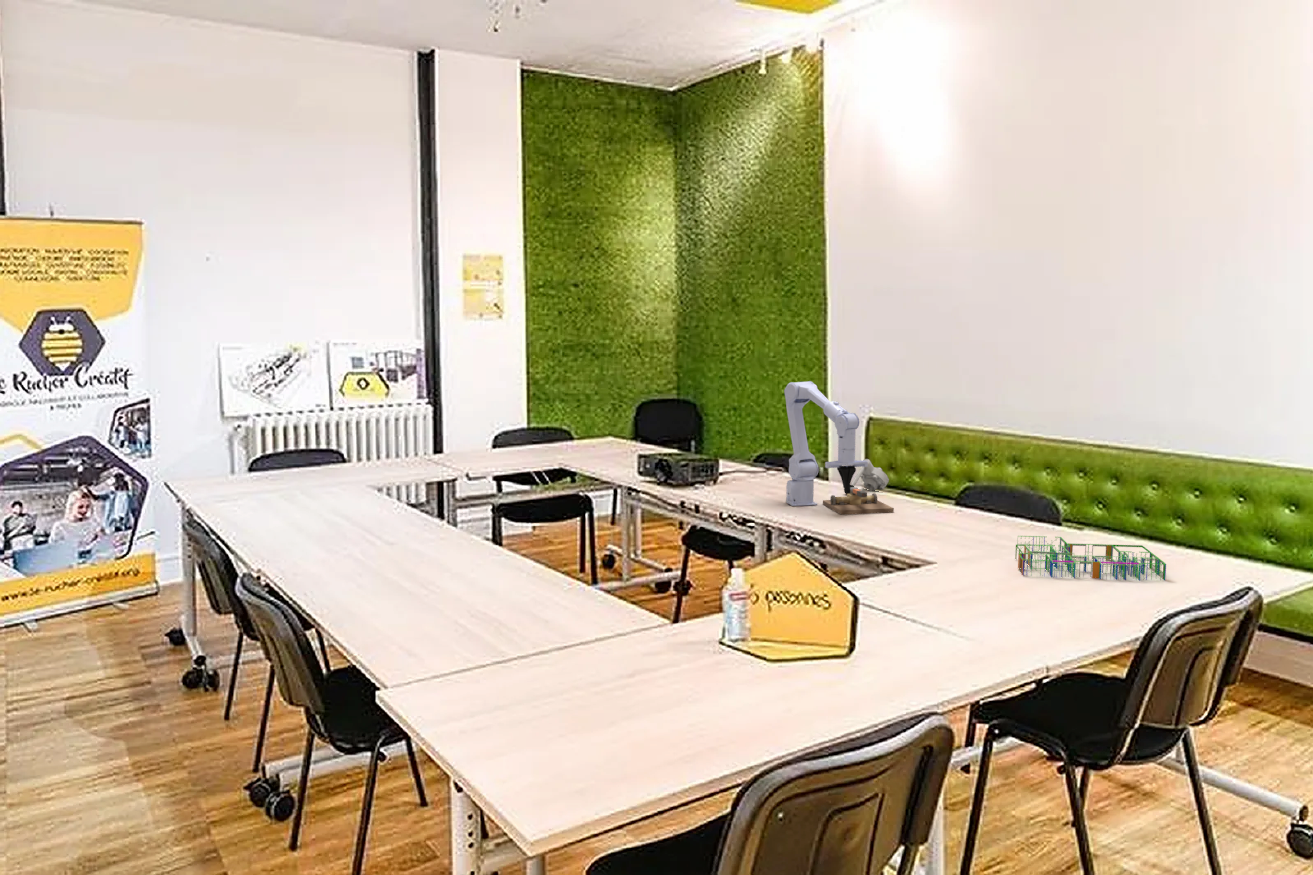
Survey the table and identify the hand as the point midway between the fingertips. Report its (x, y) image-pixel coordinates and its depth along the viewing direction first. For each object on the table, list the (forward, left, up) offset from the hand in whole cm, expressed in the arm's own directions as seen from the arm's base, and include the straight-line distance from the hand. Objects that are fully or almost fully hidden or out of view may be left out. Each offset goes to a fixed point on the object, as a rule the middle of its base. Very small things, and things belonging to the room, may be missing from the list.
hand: (846, 488), depth 348 cm
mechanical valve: (+21, +37, -9) cm, 44 cm away
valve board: (+7, +8, -9) cm, 14 cm away
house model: (+38, -80, -9) cm, 89 cm away
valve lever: (+6, +4, -3) cm, 8 cm away
